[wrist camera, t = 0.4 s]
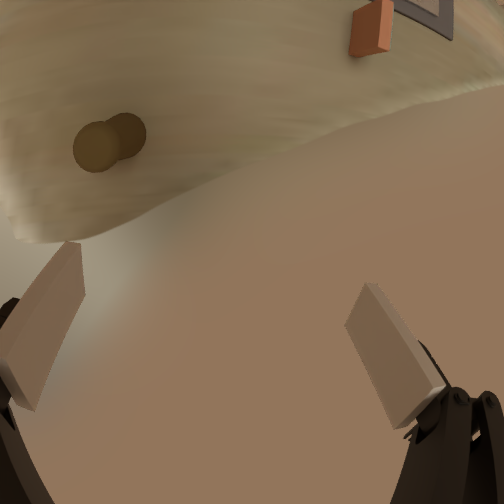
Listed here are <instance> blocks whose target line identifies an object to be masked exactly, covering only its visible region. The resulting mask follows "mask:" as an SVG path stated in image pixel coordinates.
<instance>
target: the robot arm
mask: <svg viewBox="0 0 504 504" xmlns="http://www.w3.org/2000/svg"><path fill="white" fill-rule="evenodd" d="M84 297H85V287H84V279H83V268H82V256H81V244H80V243H74V242H68V241H66V242H65V243H64V244H63V245H62V247H61V248H60V249H59V250H58V251H57V252H56V253H55V255H54V256H53V257H52V258H51V260H50V261H49V262H48V263H47V265H46V266H45V267H44V268H43V270H42V271H41V272H40V274H39V275H38V276H37V277H36V279H35V280H34V281H33V283H32V284H31V285H30V287H29V288H28V289H27V291H26V292H25V293H24V295H23V297H22V298H21V299H18V298H12V299H10V300H9V301H8V302H6V303H5V304H3V306H2V307H1V309H0V504H55V503H54V502H53V500H52V498H51V497H50V495H49V493H48V491H47V490H46V488H45V486H44V484H43V482H42V480H41V478H40V477H39V475H38V473H37V471H36V469H35V467H34V464H33V462H32V460H31V458H30V456H29V454H28V451H27V449H26V447H25V444H24V442H23V440H22V437H21V435H20V432H19V430H18V427H17V424H16V422H15V419H14V416H13V413H12V410H11V408H10V406H9V404H8V403H9V400H10V398H11V396H12V398H13V399H14V401H15V403H16V404H17V405H18V406H21V407H23V408H26V409H28V410H31V411H34V412H35V410H36V407H37V404H38V401H39V398H40V395H41V393H42V390H43V387H44V385H45V382H46V380H47V377H48V375H49V372H50V370H51V367H52V365H53V363H54V360H55V357H56V356H57V353H58V351H59V349H60V346H61V344H62V342H63V340H64V338H65V335H66V333H67V331H68V329H69V327H70V325H71V323H72V320H73V319H74V317H75V314H76V313H77V311H78V309H79V306H80V305H81V303H82V301H83V299H84ZM345 327H346V329H347V331H348V333H349V335H350V337H351V339H352V341H353V343H354V345H355V347H356V349H357V352H358V354H359V356H360V357H361V359H362V362H363V364H364V366H365V368H366V370H367V372H368V374H369V376H370V379H371V381H372V383H373V385H374V387H375V389H376V391H377V394H378V396H379V398H380V400H381V402H382V404H383V407H384V409H385V411H386V413H387V415H388V418H389V420H390V422H391V425H392V427H393V429H399V428H403V427H406V426H408V425H409V424H410V423H411V422H412V421H413V420H414V419H415V418H416V420H417V422H418V424H416V425H415V426H414V427H413V428H412V429H411V430H410V431H409V432H408V433H407V434H406V435H405V436H404V439H406V438H407V437H408V436H409V435H411V434H412V436H411V438H410V439H409V440H408V441H410V444H409V448H408V452H407V455H406V458H405V462H404V465H403V468H402V471H401V474H400V477H399V480H398V483H397V486H396V489H395V492H394V494H393V497H392V500H391V502H390V504H504V416H503V412H502V409H501V405H500V402H499V400H498V398H497V397H496V395H495V394H493V393H492V392H490V391H484V392H483V393H482V394H481V395H480V396H479V397H478V398H470V397H469V395H468V394H467V393H466V391H465V390H463V389H462V388H459V387H453V388H452V387H451V385H450V384H449V383H448V380H447V379H446V377H445V376H444V374H443V373H442V371H441V370H440V368H439V366H438V365H437V364H436V362H435V360H434V359H433V358H432V357H431V354H430V353H429V351H428V350H427V348H426V347H425V346H424V345H423V344H422V343H421V342H420V341H419V340H417V339H416V337H415V336H414V334H413V333H412V332H411V330H410V329H409V327H408V326H407V324H406V323H405V321H404V320H403V319H402V317H401V316H400V314H399V313H398V311H397V310H396V309H395V307H394V306H393V304H392V303H391V302H390V300H389V299H388V298H387V296H386V295H385V294H384V292H383V291H382V289H381V288H380V287H379V286H378V284H373V283H365V284H364V286H363V288H362V290H361V292H360V295H359V297H358V299H357V301H356V303H355V305H354V307H353V309H352V311H351V313H350V315H349V317H348V319H347V321H346V323H345ZM478 430H480V434H481V435H480V436H479V437H478V438H477V439H475V440H474V441H473V440H472V436H473V435H474V434H475V433H476V432H478Z"/></svg>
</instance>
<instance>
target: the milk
mask: <svg viewBox="0 0 504 504" xmlns="http://www.w3.org/2000/svg"><path fill="white" fill-rule="evenodd" d="M495 1H496V2H497V3H498V5H504V0H495Z"/></svg>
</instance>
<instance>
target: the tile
mask: <svg viewBox="0 0 504 504" xmlns="http://www.w3.org/2000/svg"><path fill="white" fill-rule="evenodd" d="M393 14H394V2H392V1H390V0H375V1H373V2H371V3H369V4H367V5H365V6H363V7H361V8H359V9H357V10H356V11H354V13H353V22H352V31H351V39H350V47H349V55H353V56H356V57H363V56H367V55H372V54H377V53H382V52H388V51H390V47H391V37H392V27H393Z"/></svg>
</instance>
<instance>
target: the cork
mask: <svg viewBox="0 0 504 504" xmlns="http://www.w3.org/2000/svg"><path fill="white" fill-rule="evenodd" d="M145 140H146V129H145V126H144V123H143V122H142V121H141V119H140V118H139V117H137V116H136V115H134V114H130V113H120V114H118V115H116V116H113V117H112V118H110V119H109V120H107V121H105V122H103V121H99V122H92V123H90V124H88V125H86V126H85V127H83V128H82V129H81V130H80V131H79V133H78V134H77V136H76V138H75V140H74V145H73V153H74V157H75V160H76V162H77V163H78V164H79V166H80V167H81V168H83V169H84V170H86V171H88V172H92V173H96V172H103V171H105V170H108V169H109V168H110V167H112V166H113V165H114V164H115V163H116V162H117V160H121V159H125V158H129V157H131V156H134V155H135V154H137V153H138V152H139V151H140V150H141V148H142V147H143V145H144V143H145Z"/></svg>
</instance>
